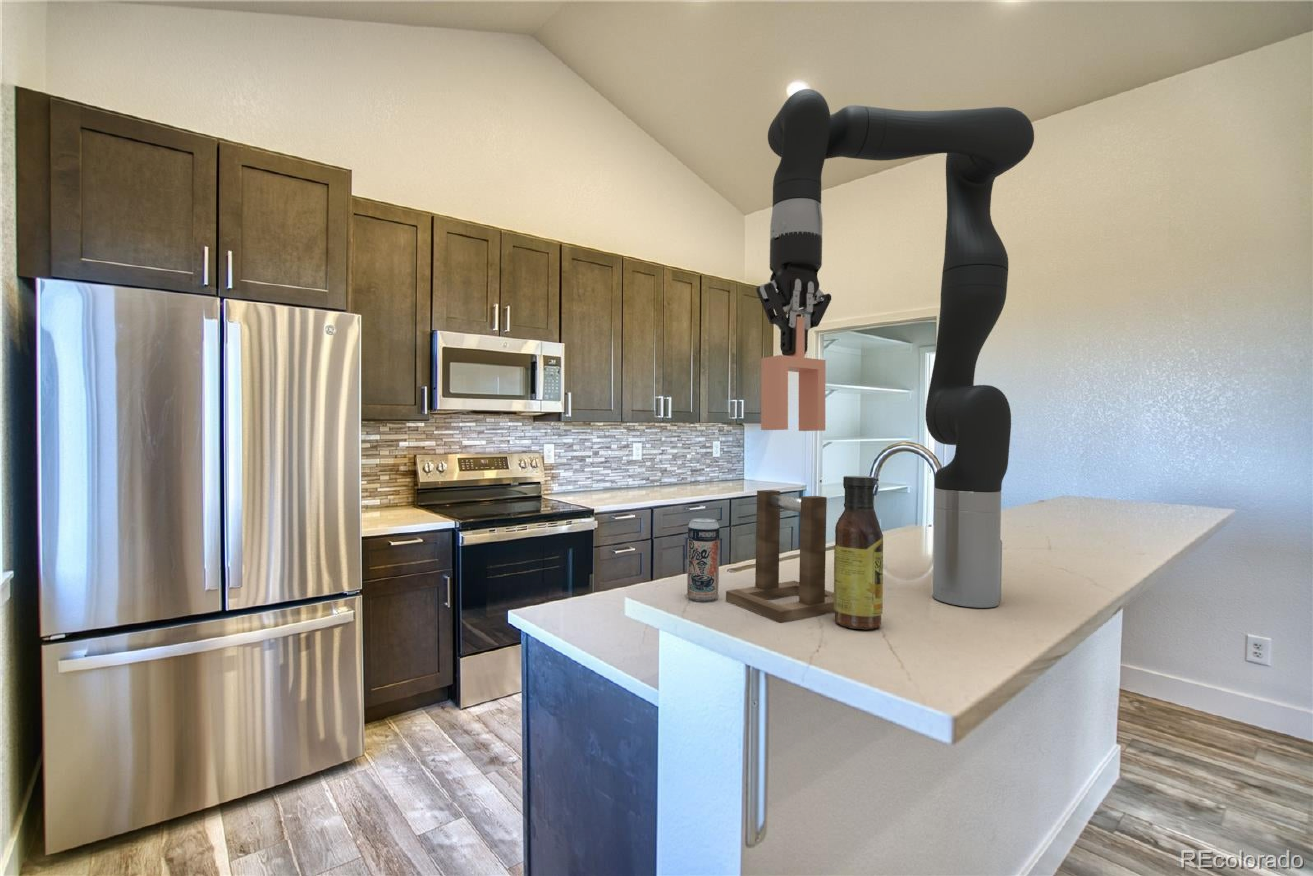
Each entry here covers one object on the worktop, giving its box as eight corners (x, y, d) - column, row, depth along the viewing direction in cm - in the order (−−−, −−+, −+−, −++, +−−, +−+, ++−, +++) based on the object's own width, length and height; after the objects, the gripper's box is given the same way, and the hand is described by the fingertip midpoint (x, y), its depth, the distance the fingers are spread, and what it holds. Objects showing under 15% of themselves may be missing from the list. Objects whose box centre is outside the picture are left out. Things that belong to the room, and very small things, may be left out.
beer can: (685, 601, 90) (686, 521, 90) (688, 593, 95) (690, 517, 95) (717, 603, 89) (718, 522, 89) (719, 595, 94) (720, 518, 94)
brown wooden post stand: (794, 589, 98) (796, 488, 98) (852, 608, 88) (854, 495, 88) (725, 600, 91) (727, 491, 91) (780, 622, 80) (782, 499, 80)
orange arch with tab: (805, 431, 93) (805, 324, 93) (825, 430, 89) (825, 319, 90) (761, 429, 88) (761, 317, 88) (780, 429, 85) (780, 312, 85)
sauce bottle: (886, 633, 77) (889, 478, 77) (835, 629, 78) (838, 477, 78) (877, 618, 83) (880, 475, 83) (831, 615, 85) (833, 473, 84)
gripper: (810, 252, 95) (808, 361, 96) (743, 236, 88) (741, 354, 88) (848, 239, 89) (845, 356, 89) (778, 221, 82) (776, 348, 82)
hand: (793, 355), depth 89 cm, fingers closed on orange arch with tab, 1 cm apart
